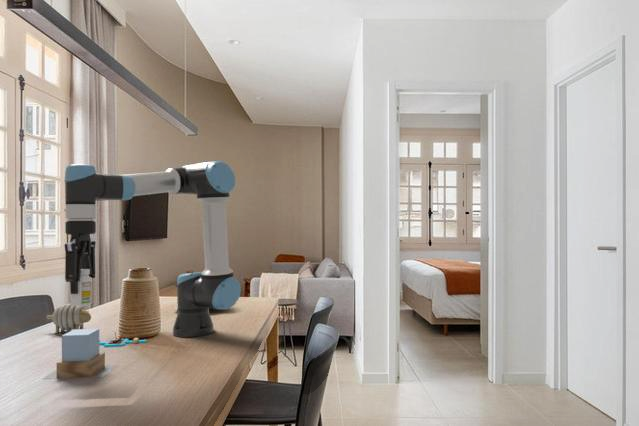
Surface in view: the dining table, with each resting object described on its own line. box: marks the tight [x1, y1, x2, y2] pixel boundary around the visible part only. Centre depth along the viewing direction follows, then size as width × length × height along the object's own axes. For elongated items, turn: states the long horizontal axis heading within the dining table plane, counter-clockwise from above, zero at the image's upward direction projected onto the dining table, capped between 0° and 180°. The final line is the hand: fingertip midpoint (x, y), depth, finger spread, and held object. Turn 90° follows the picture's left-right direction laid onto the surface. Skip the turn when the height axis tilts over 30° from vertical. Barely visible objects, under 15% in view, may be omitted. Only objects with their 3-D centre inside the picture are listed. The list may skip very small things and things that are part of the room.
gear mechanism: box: [99, 330, 147, 348], centre depth 164 cm, size 20×5×9 cm
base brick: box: [56, 351, 106, 379], centre depth 128 cm, size 9×9×4 cm
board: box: [42, 365, 119, 380], centre depth 128 cm, size 16×10×2 cm, turn 93°
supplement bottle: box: [80, 269, 93, 307], centre depth 129 cm, size 5×5×10 cm
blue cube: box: [61, 328, 100, 362], centre depth 128 cm, size 7×7×7 cm
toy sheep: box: [45, 303, 92, 334], centre depth 182 cm, size 11×17×11 cm, turn 98°
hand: (81, 303), depth 128 cm, fingers closed on supplement bottle, 5 cm apart
